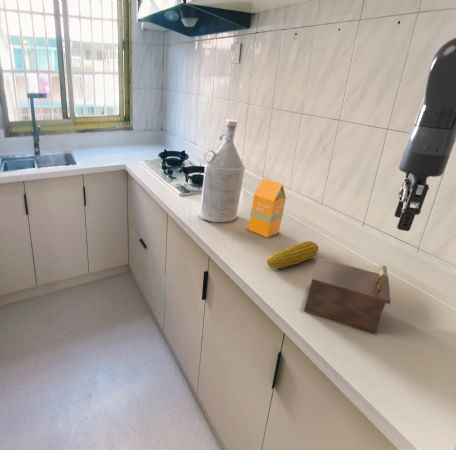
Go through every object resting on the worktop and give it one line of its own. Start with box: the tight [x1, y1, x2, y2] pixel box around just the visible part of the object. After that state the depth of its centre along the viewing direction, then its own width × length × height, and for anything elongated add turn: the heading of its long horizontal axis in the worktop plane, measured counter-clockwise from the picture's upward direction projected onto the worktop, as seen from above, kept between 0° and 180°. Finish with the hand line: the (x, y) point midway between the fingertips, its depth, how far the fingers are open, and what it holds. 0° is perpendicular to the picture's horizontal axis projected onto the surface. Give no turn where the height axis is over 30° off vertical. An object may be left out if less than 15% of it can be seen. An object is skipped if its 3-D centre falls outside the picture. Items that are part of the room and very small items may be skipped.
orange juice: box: [248, 178, 287, 238], centre depth 127 cm, size 8×9×20 cm
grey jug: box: [198, 118, 246, 223], centre depth 135 cm, size 13×17×40 cm
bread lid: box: [311, 257, 392, 305], centre depth 83 cm, size 16×13×5 cm
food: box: [266, 240, 319, 269], centre depth 108 cm, size 21×6×6 cm, turn 121°
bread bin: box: [303, 281, 386, 334], centre depth 86 cm, size 16×13×9 cm
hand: (401, 223), depth 75 cm, fingers open, 8 cm apart
